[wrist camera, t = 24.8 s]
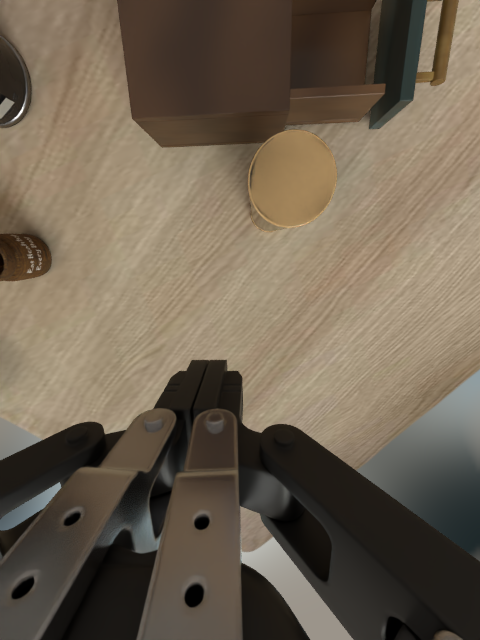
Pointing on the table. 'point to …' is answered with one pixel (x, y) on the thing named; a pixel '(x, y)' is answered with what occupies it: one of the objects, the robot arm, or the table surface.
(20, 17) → the table surface
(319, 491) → the robot arm
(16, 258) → the utensil holder
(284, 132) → the black cylinder
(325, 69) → the drawer
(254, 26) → the cabinet
